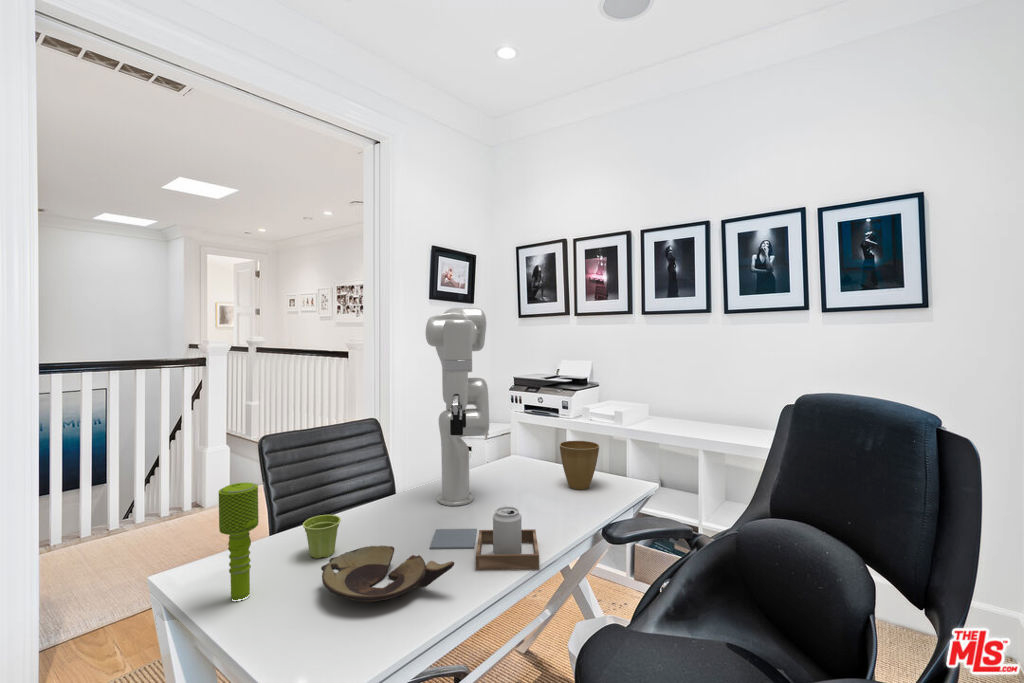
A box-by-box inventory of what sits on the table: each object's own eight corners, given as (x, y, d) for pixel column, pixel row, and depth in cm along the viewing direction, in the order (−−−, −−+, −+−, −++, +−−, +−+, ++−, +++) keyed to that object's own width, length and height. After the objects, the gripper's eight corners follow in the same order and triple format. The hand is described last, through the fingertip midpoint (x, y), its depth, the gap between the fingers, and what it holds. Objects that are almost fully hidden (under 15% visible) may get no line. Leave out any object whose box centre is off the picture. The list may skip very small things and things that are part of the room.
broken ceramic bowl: (374, 556, 127) (373, 527, 127) (466, 587, 112) (466, 554, 112) (297, 596, 108) (297, 562, 108) (397, 640, 93) (396, 600, 93)
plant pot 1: (348, 548, 132) (348, 517, 132) (324, 564, 123) (324, 530, 123) (320, 543, 135) (320, 512, 135) (295, 559, 126) (294, 525, 126)
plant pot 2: (602, 493, 175) (602, 449, 175) (561, 493, 175) (561, 449, 175) (596, 480, 190) (596, 439, 190) (557, 480, 190) (557, 439, 190)
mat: (436, 530, 143) (436, 529, 143) (476, 530, 143) (476, 528, 143) (429, 549, 131) (429, 547, 131) (474, 548, 131) (474, 546, 131)
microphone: (212, 603, 106) (210, 488, 105) (242, 585, 113) (240, 478, 112) (239, 610, 103) (237, 493, 102) (269, 592, 110) (267, 482, 109)
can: (518, 563, 123) (518, 516, 123) (490, 560, 124) (489, 514, 124) (524, 550, 130) (523, 505, 130) (496, 547, 132) (496, 503, 132)
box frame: (479, 542, 135) (479, 529, 135) (535, 541, 135) (535, 529, 135) (475, 570, 119) (475, 556, 119) (539, 569, 120) (539, 555, 120)
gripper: (447, 364, 137) (448, 425, 137) (439, 369, 119) (440, 438, 120) (474, 364, 137) (474, 424, 137) (469, 368, 120) (470, 438, 120)
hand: (458, 431), depth 129 cm, fingers open, 9 cm apart
